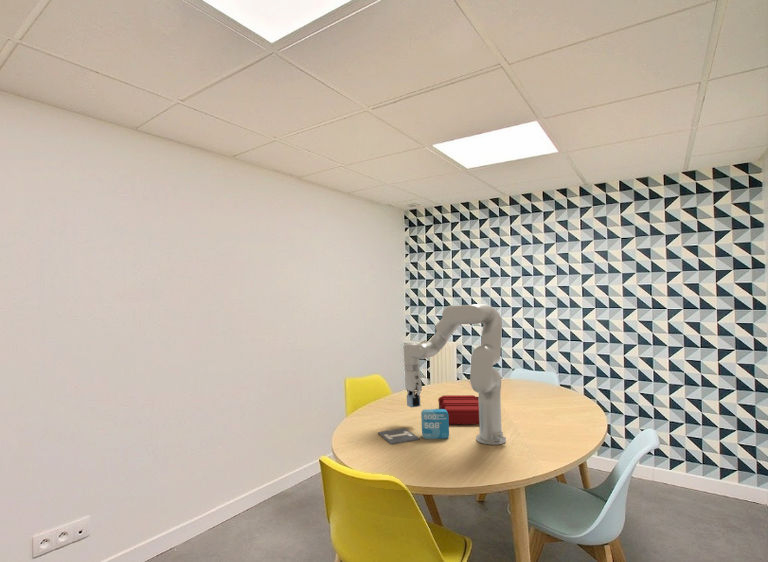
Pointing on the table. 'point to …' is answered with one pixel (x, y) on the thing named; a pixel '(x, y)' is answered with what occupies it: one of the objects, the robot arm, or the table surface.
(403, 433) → the letter mat
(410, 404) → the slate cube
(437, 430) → the data package
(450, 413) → the first aid kit
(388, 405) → the table surface
